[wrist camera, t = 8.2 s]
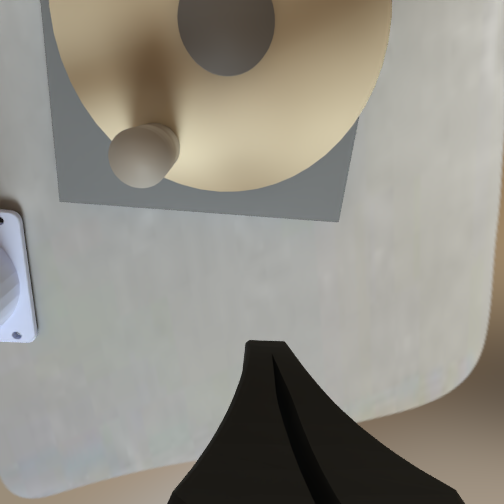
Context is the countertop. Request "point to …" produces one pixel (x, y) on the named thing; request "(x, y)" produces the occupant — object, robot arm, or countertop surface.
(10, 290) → the robot arm
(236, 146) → the cam dial
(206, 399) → the countertop surface
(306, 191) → the dial board
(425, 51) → the countertop surface
